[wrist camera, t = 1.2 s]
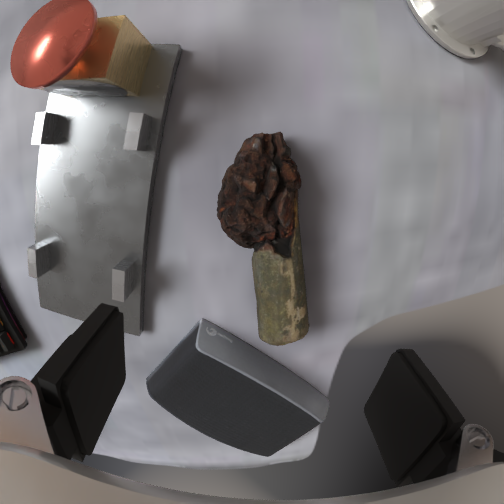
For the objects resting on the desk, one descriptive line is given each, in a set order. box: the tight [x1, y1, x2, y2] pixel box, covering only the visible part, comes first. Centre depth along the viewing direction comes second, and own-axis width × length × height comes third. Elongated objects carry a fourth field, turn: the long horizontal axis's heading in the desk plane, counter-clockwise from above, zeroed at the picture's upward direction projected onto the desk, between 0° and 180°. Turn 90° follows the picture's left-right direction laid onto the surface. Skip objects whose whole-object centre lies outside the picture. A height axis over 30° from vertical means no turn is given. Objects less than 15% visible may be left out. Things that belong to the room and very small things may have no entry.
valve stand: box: [11, 0, 182, 336], centre depth 20 cm, size 13×29×11 cm, turn 169°
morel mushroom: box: [217, 132, 309, 346], centre depth 24 cm, size 18×7×6 cm, turn 7°
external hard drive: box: [146, 319, 330, 457], centre depth 31 cm, size 13×19×4 cm
